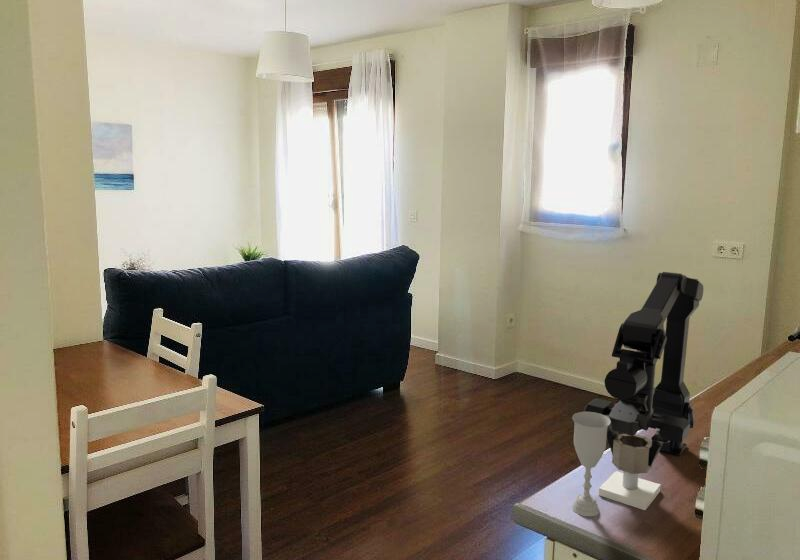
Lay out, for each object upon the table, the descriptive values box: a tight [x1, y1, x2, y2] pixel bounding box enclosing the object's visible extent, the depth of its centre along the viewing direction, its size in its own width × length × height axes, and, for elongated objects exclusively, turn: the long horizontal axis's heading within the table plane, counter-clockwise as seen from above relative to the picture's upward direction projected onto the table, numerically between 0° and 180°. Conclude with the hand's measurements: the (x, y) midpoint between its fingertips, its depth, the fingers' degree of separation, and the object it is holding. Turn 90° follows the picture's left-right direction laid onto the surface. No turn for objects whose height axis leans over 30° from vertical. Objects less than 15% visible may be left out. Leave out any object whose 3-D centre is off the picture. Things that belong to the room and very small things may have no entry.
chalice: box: [571, 411, 611, 517], centre depth 120 cm, size 7×7×18 cm
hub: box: [611, 433, 653, 475], centre depth 126 cm, size 7×7×5 cm
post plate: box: [598, 470, 662, 511], centre depth 127 cm, size 9×9×8 cm
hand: (632, 460), depth 126 cm, fingers closed on hub, 7 cm apart
